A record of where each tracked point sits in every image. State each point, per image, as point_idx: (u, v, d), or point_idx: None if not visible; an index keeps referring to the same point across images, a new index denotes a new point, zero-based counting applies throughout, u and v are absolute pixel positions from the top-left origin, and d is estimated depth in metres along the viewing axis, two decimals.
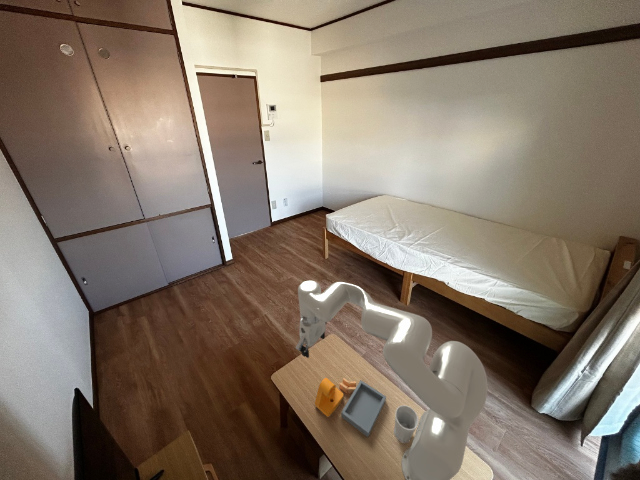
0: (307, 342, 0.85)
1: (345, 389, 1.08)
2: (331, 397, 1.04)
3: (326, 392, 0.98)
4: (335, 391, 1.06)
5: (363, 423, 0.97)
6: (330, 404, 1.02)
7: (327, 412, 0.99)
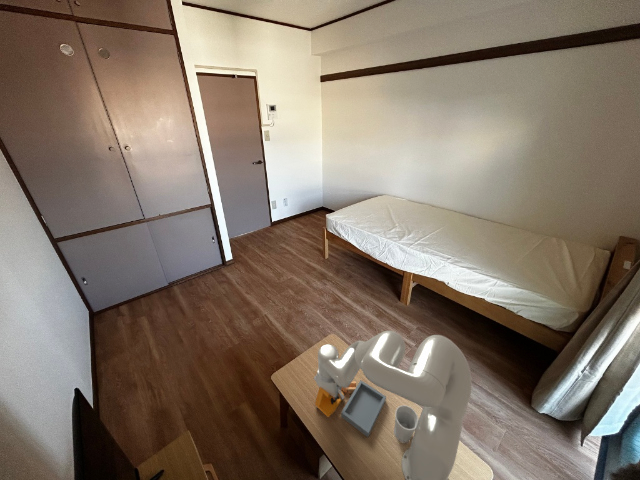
0: (341, 387, 0.98)
1: (345, 389, 1.08)
2: (331, 397, 1.04)
3: (327, 393, 0.98)
4: None
5: (363, 423, 0.97)
6: (330, 404, 1.02)
7: (328, 412, 0.99)
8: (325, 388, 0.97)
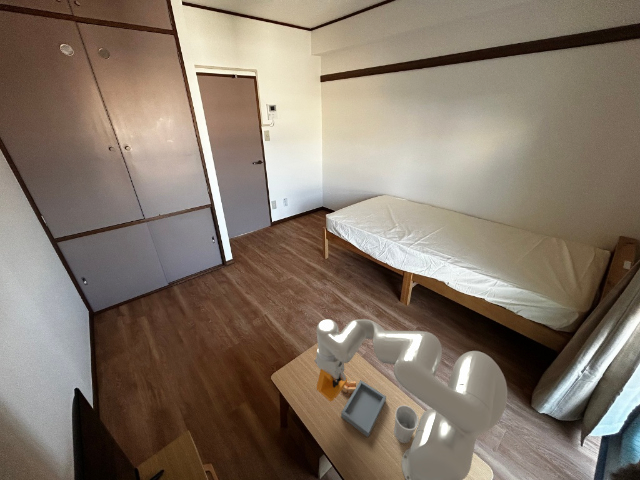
0: (343, 368, 0.91)
1: (345, 389, 1.08)
2: None
3: (329, 374, 0.91)
4: None
5: (363, 423, 0.97)
6: (333, 388, 0.95)
7: (330, 396, 0.92)
8: (326, 369, 0.90)
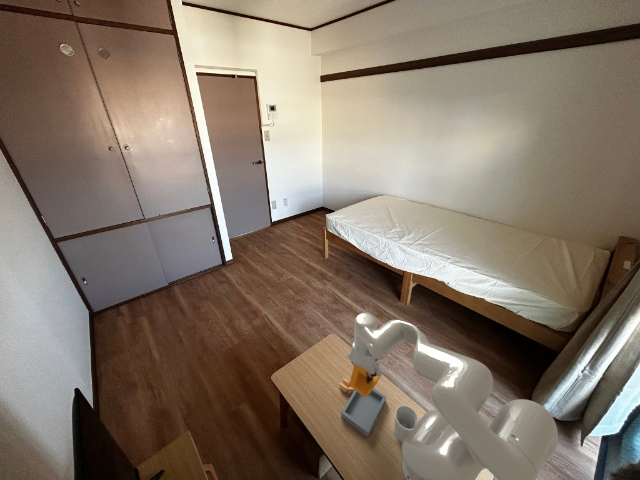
0: None
1: (345, 389, 1.08)
2: None
3: (363, 369, 0.90)
4: None
5: (363, 423, 0.97)
6: (367, 384, 0.93)
7: (365, 392, 0.91)
8: (361, 364, 0.89)
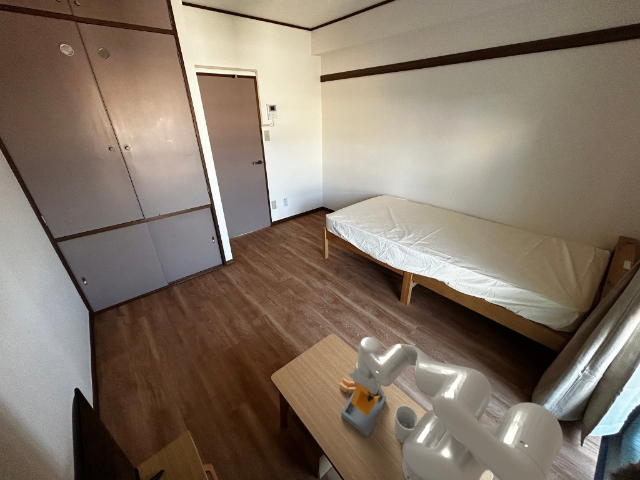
0: (381, 383, 0.91)
1: (345, 389, 1.08)
2: (368, 394, 0.97)
3: (366, 389, 0.91)
4: None
5: (363, 423, 0.97)
6: (368, 402, 0.95)
7: (366, 410, 0.93)
8: (364, 384, 0.90)
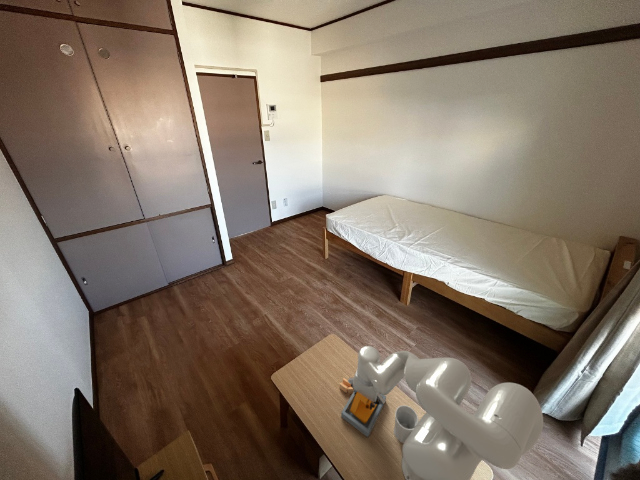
0: None
1: (345, 389, 1.08)
2: (366, 403, 1.01)
3: (365, 399, 0.94)
4: None
5: (363, 423, 0.97)
6: (366, 410, 0.98)
7: (365, 419, 0.96)
8: (363, 392, 0.93)
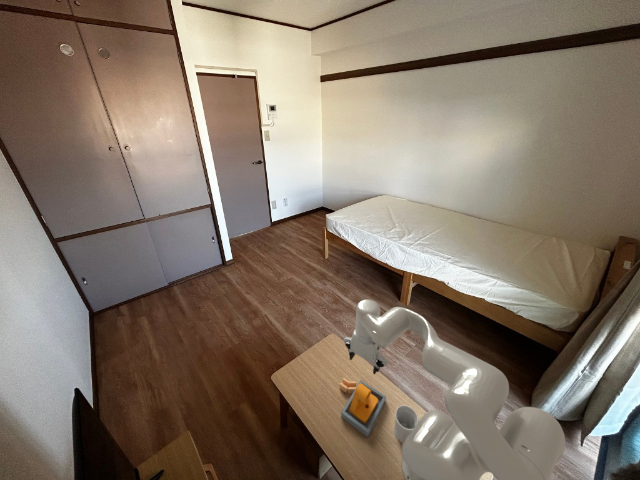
0: (380, 352, 0.86)
1: (345, 389, 1.08)
2: (366, 403, 1.01)
3: (363, 398, 0.95)
4: (368, 396, 1.03)
5: (363, 423, 0.97)
6: (366, 410, 0.99)
7: (364, 418, 0.96)
8: (362, 353, 0.85)
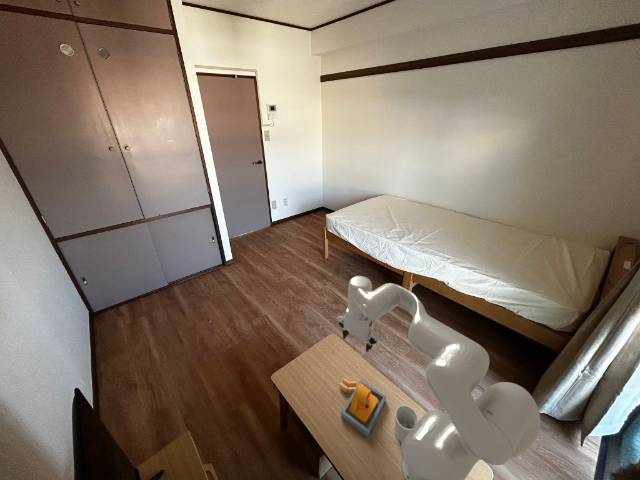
0: (372, 329, 0.87)
1: (345, 389, 1.08)
2: (366, 403, 1.01)
3: (363, 398, 0.95)
4: (368, 396, 1.03)
5: (363, 423, 0.97)
6: (366, 410, 0.99)
7: (364, 418, 0.96)
8: (355, 330, 0.87)
